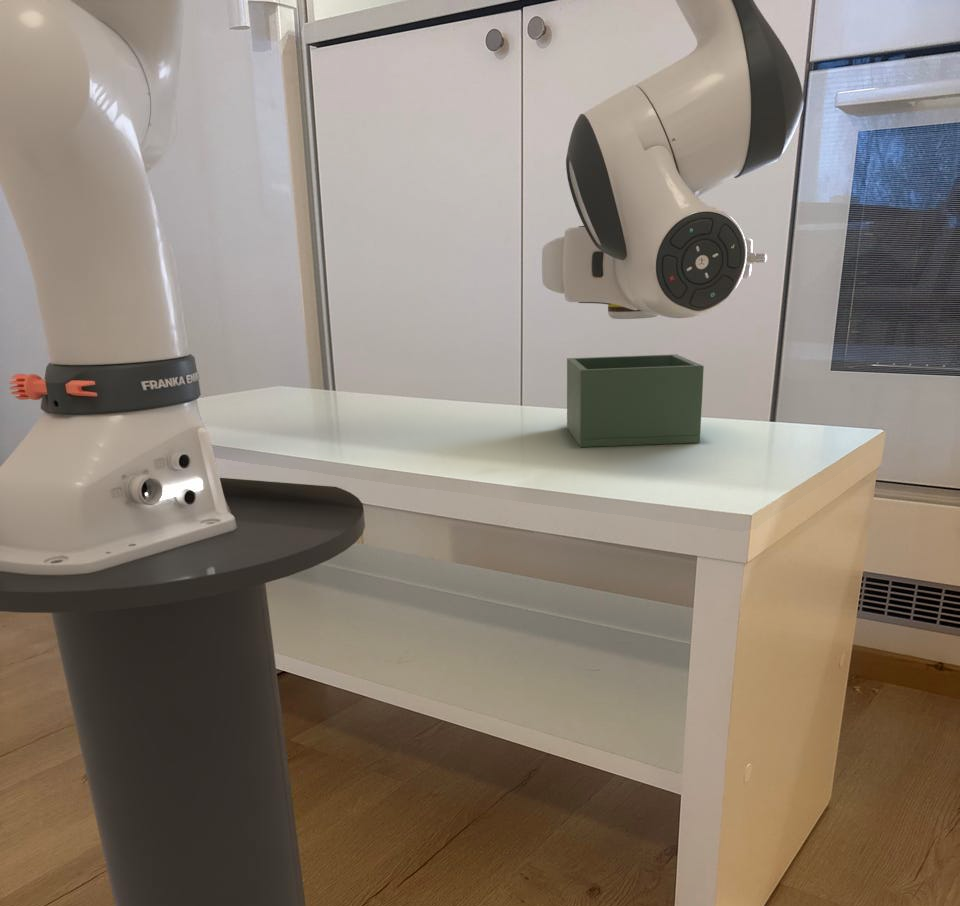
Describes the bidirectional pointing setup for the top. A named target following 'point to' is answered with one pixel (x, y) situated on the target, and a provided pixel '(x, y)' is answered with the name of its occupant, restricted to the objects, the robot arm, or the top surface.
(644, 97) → the robot arm
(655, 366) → the storage box
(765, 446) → the top surface
